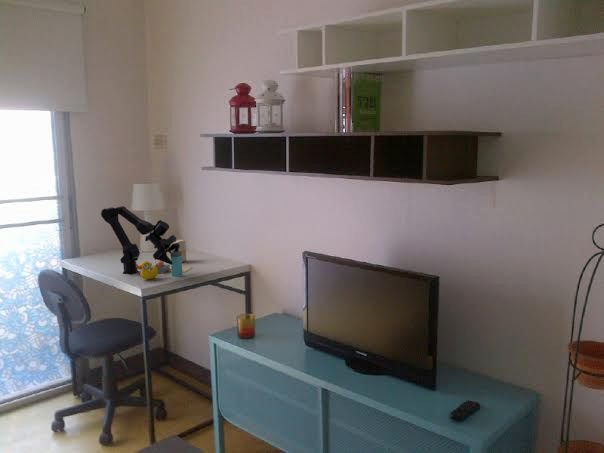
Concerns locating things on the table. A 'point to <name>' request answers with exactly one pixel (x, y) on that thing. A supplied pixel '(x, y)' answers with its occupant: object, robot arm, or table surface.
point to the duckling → (147, 270)
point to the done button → (159, 263)
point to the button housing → (162, 268)
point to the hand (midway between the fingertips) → (176, 262)
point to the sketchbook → (184, 269)
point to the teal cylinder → (176, 264)
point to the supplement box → (182, 249)
